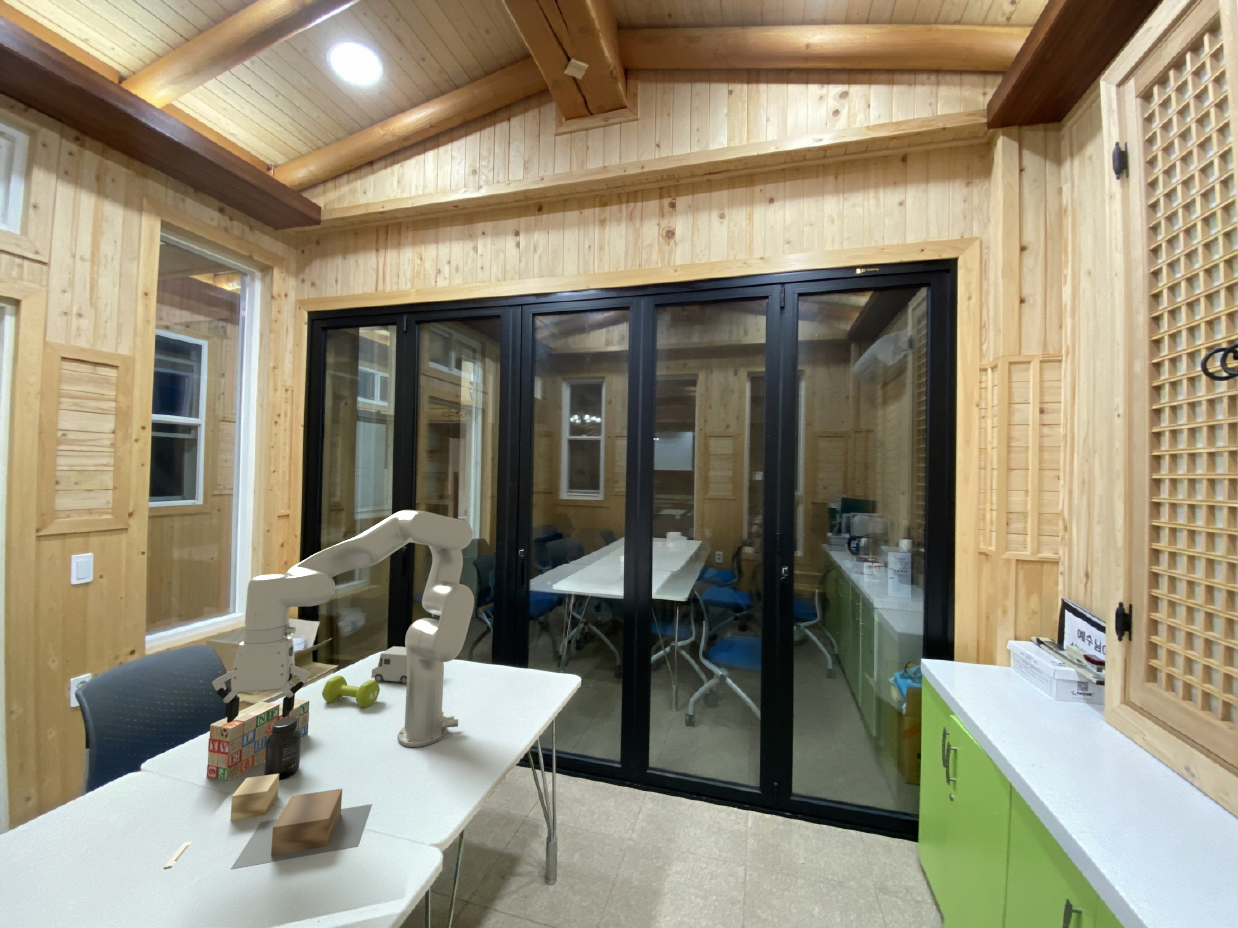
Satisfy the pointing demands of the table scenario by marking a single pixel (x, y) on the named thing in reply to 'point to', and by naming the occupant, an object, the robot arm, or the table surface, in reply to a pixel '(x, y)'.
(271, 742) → the supplement bottle
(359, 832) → the board
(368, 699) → the dumbbell
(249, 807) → the oak brick
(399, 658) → the toy vehicle
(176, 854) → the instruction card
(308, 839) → the brick
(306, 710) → the stack of blocks
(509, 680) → the table surface
